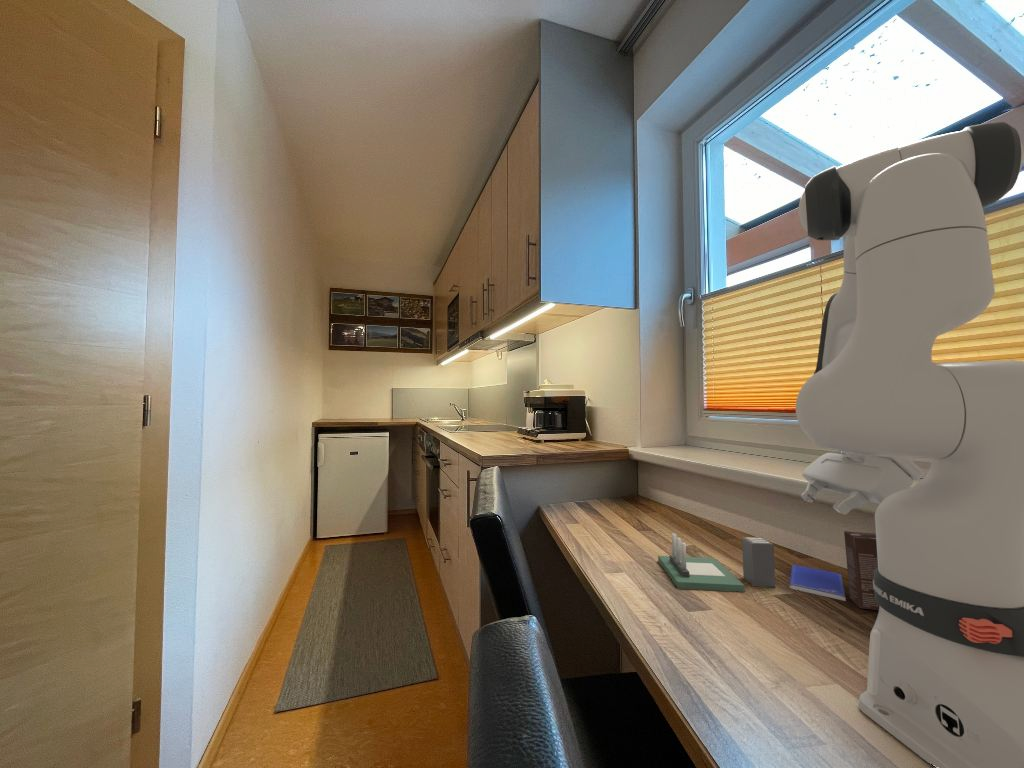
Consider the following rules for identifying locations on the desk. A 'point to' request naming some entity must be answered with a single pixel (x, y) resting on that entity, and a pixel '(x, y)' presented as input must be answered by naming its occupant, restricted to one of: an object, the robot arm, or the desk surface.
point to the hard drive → (817, 582)
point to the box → (861, 567)
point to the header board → (697, 571)
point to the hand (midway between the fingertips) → (820, 505)
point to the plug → (758, 561)
